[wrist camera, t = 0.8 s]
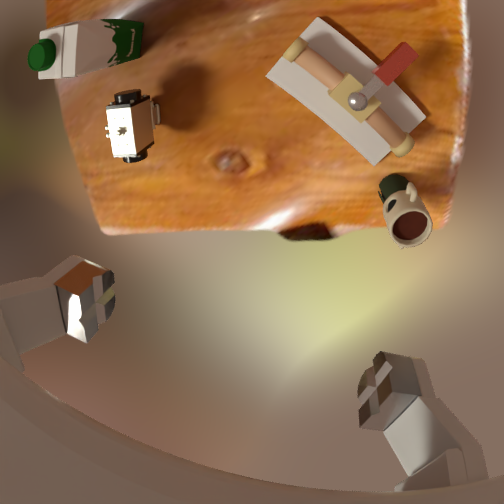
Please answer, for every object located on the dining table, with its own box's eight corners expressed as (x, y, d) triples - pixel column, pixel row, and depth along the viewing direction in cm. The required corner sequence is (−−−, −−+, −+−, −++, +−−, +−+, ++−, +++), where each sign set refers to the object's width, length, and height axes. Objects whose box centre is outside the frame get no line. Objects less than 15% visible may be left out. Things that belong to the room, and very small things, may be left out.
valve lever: (400, 41, 27) (405, 41, 26) (414, 55, 28) (419, 56, 26) (343, 100, 35) (344, 102, 33) (357, 112, 35) (359, 116, 34)
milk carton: (108, 20, 36) (27, 30, 21) (150, 18, 36) (71, 19, 21) (104, 62, 42) (26, 87, 27) (144, 63, 42) (68, 85, 27)
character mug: (378, 158, 46) (396, 194, 36) (416, 163, 45) (440, 199, 35) (371, 212, 53) (382, 256, 43) (406, 214, 52) (423, 258, 42)
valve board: (317, 17, 33) (318, 11, 27) (423, 114, 39) (441, 128, 33) (266, 75, 41) (258, 81, 35) (372, 163, 47) (381, 183, 41)
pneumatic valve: (162, 82, 44) (125, 96, 35) (166, 142, 52) (134, 168, 42) (135, 84, 45) (96, 100, 36) (141, 142, 52) (107, 168, 43)
